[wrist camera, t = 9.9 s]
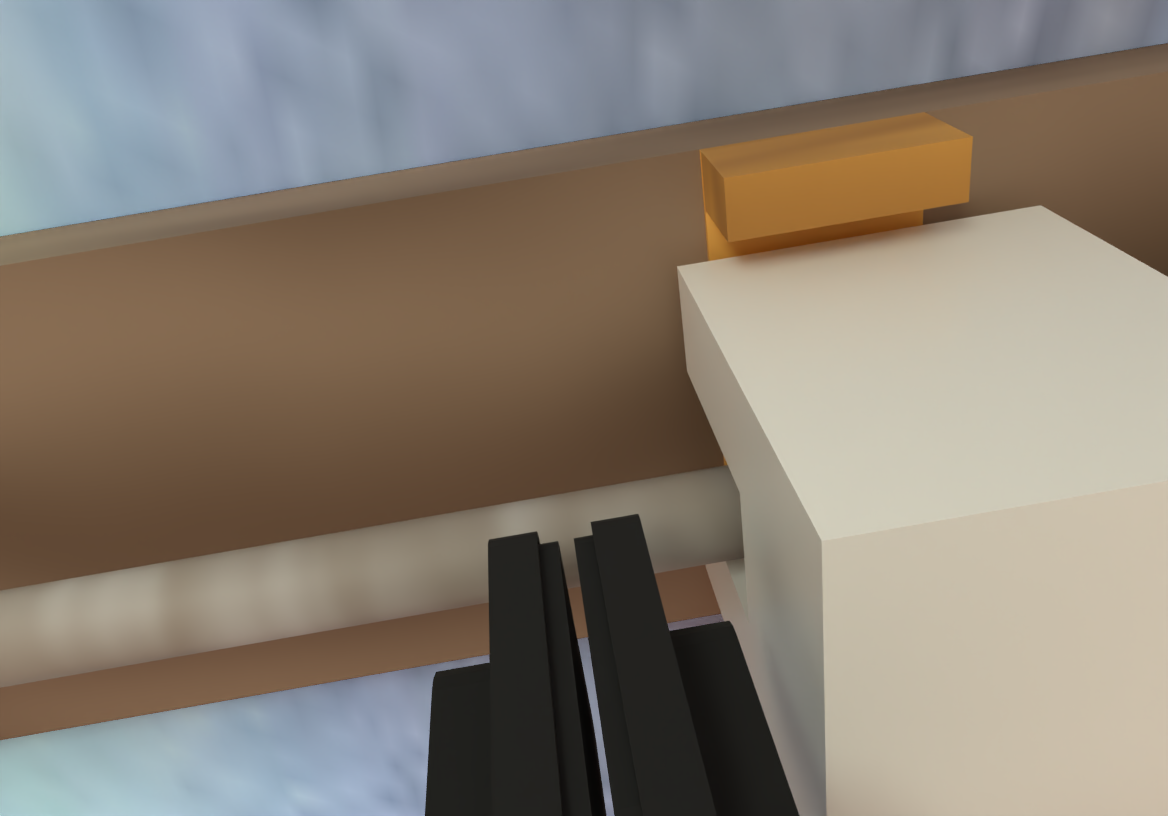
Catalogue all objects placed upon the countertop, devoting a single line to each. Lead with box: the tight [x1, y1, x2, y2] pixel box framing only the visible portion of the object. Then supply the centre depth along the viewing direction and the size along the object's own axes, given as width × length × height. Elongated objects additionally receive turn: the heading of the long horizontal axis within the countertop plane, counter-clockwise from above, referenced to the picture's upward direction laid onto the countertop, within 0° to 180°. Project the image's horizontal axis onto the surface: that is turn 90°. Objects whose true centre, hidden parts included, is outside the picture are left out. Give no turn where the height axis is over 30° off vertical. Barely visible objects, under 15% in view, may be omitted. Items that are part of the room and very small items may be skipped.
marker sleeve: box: [677, 205, 1168, 816], centre depth 11 cm, size 5×5×6 cm
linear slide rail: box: [0, 43, 1168, 740], centre depth 12 cm, size 8×40×8 cm, turn 98°
